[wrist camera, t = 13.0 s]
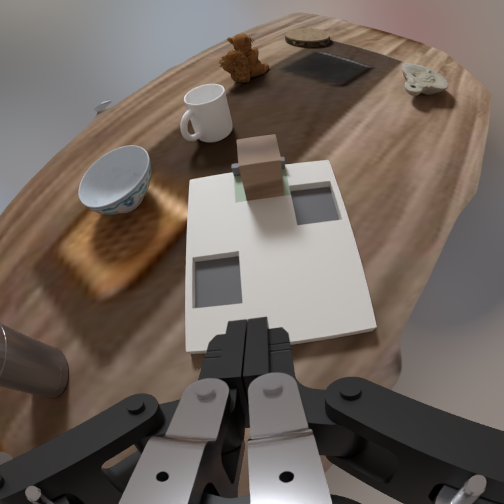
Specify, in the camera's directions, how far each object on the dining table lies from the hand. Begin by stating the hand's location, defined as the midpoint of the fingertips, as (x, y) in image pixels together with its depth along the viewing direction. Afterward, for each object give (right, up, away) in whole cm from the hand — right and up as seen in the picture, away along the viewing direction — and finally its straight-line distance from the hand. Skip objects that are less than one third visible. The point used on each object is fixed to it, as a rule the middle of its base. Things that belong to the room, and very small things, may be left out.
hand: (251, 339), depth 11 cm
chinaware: (-24, +14, +44) cm, 52 cm away
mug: (-9, +28, +49) cm, 58 cm away
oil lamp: (+46, +48, +52) cm, 84 cm away
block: (+2, +15, +38) cm, 40 cm away
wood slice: (+20, +78, +73) cm, 109 cm away
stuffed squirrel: (-2, +53, +62) cm, 81 cm away
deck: (+3, +4, +34) cm, 34 cm away
